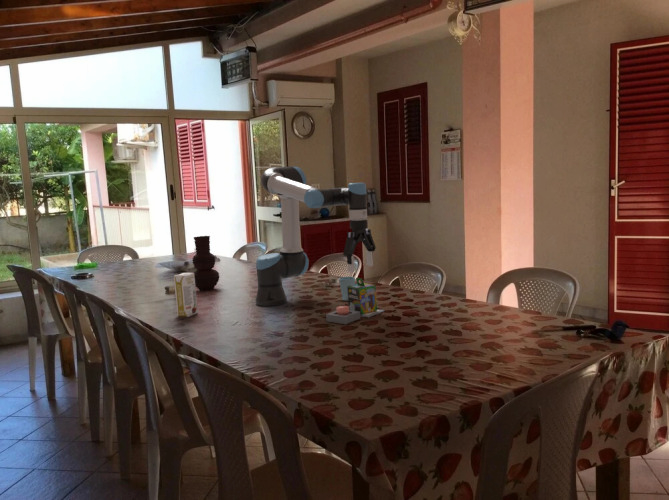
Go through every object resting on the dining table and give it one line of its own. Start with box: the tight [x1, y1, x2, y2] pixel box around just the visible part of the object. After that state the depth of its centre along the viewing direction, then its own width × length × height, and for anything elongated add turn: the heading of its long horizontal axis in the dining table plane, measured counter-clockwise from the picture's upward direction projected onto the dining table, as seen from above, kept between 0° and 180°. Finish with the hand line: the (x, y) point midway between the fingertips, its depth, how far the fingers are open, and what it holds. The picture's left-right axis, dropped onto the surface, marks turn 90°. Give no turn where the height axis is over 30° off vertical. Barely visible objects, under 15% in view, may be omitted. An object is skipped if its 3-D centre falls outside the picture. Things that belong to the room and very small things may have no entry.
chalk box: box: [347, 277, 378, 315], centre depth 247 cm, size 9×9×15 cm
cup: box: [338, 276, 356, 302], centre depth 275 cm, size 8×8×10 cm
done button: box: [336, 305, 349, 315], centre depth 236 cm, size 5×5×3 cm
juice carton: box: [173, 272, 198, 318], centre depth 261 cm, size 8×9×19 cm
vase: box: [191, 235, 220, 292], centre depth 317 cm, size 15×15×30 cm
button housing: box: [325, 310, 361, 325], centre depth 237 cm, size 10×10×3 cm
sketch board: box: [360, 308, 385, 318], centre depth 248 cm, size 14×12×1 cm
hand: (360, 268), depth 245 cm, fingers open, 13 cm apart
